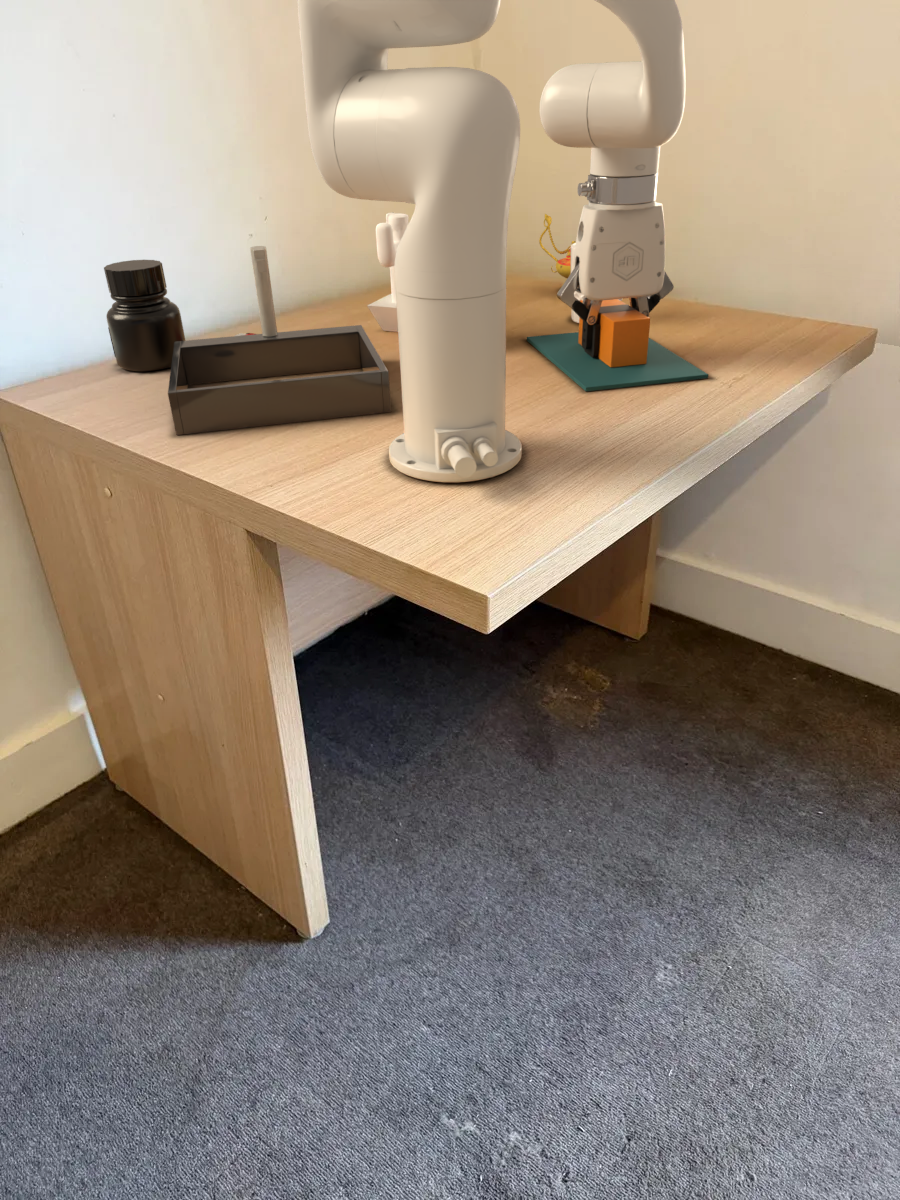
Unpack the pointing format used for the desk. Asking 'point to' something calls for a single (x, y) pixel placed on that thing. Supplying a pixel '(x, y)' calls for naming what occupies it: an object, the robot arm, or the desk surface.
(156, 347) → the ink bottle
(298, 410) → the sink basin
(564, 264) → the magic lamp
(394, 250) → the figurine
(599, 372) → the mat
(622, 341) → the orange striped block
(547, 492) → the desk surface
